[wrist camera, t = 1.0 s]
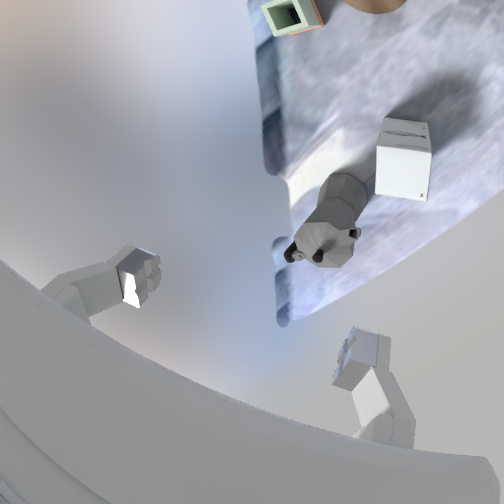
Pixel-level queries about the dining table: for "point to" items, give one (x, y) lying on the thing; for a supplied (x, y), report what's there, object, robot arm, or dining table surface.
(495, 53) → the dining table surface
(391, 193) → the supplement box
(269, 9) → the sleeve
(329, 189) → the coffeepot
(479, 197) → the dining table surface
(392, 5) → the pin base
